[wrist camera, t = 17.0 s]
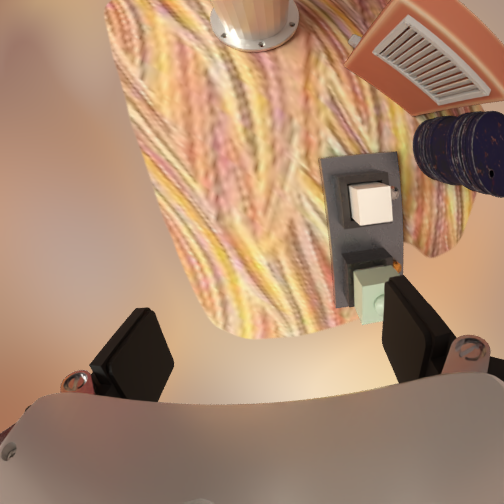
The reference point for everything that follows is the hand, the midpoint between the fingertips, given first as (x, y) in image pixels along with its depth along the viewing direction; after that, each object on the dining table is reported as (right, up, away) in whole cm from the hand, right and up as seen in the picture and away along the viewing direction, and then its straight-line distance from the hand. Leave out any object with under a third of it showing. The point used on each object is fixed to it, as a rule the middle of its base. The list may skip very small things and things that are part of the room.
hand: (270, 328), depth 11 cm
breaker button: (+13, +10, +23) cm, 28 cm away
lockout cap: (+15, -2, +24) cm, 28 cm away
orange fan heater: (+19, +28, +21) cm, 39 cm away
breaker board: (+16, +6, +29) cm, 33 cm away
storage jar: (+27, +18, +23) cm, 40 cm away
